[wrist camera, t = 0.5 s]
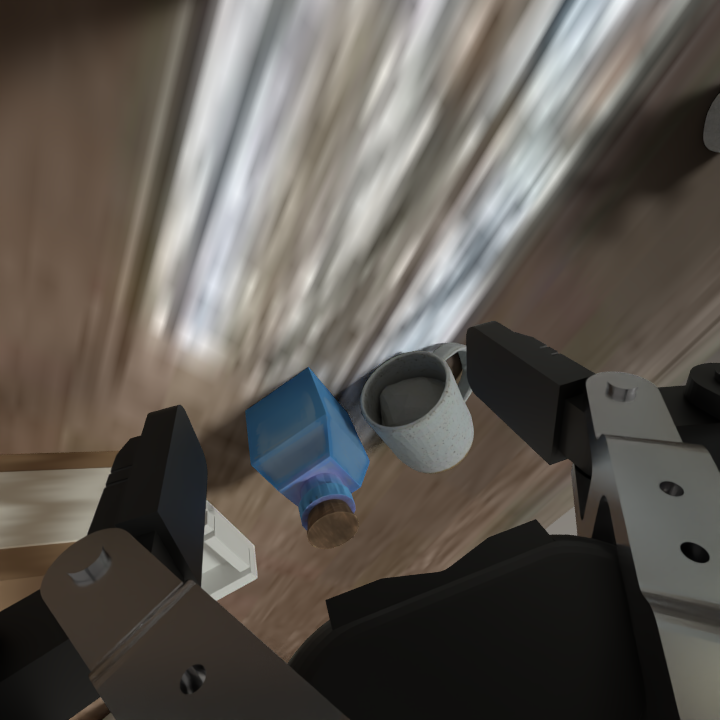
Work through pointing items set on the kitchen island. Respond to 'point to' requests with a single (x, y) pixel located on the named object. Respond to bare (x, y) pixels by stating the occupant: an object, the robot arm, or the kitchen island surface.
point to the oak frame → (44, 512)
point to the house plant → (713, 126)
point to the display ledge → (225, 556)
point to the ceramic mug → (421, 408)
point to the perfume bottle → (309, 456)
